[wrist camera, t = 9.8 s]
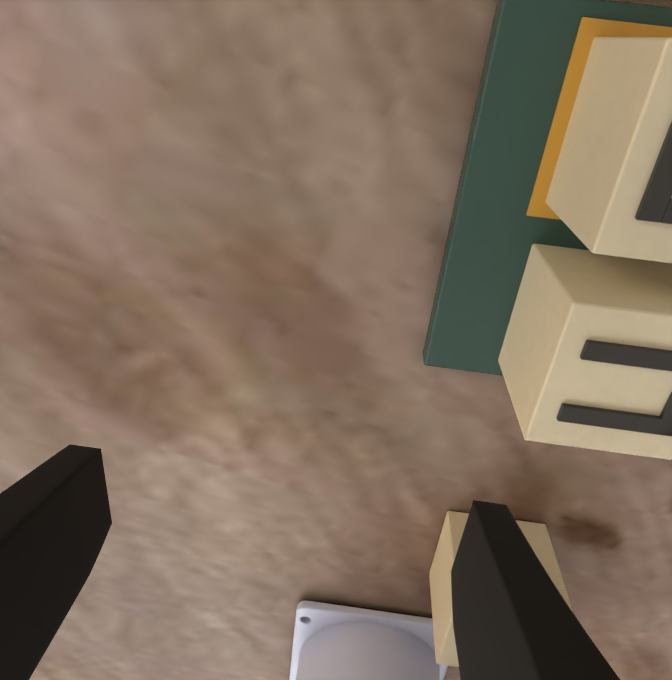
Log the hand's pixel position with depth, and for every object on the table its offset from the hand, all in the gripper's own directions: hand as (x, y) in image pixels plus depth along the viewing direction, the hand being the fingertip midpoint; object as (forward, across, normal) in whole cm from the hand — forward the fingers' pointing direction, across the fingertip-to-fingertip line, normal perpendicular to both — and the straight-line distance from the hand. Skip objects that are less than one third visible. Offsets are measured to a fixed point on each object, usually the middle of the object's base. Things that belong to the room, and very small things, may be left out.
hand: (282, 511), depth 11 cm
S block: (+8, -8, -7) cm, 13 cm away
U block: (+9, -8, -1) cm, 12 cm away
